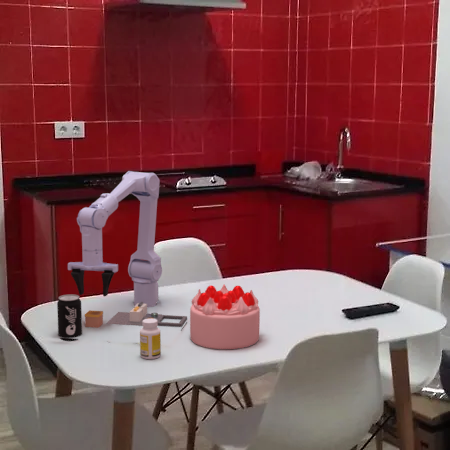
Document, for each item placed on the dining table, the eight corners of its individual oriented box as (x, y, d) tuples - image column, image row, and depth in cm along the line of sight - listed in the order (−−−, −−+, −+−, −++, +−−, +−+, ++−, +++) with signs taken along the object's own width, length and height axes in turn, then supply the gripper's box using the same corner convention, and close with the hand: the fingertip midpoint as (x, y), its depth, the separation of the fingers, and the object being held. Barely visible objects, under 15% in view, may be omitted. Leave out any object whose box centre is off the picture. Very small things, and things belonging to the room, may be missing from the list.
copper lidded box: (89, 326, 226) (89, 310, 225) (103, 327, 225) (103, 311, 224) (85, 331, 222) (84, 314, 221) (98, 331, 221) (98, 315, 220)
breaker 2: (133, 317, 231) (133, 305, 230) (143, 317, 230) (142, 306, 230) (129, 321, 227) (129, 309, 226) (139, 321, 226) (139, 310, 226)
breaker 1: (137, 312, 236) (137, 301, 235) (147, 313, 235) (147, 301, 235) (134, 316, 232) (134, 304, 231) (143, 316, 231) (143, 305, 231)
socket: (161, 321, 231) (161, 314, 231) (187, 322, 230) (187, 316, 230) (154, 329, 223) (154, 322, 223) (181, 330, 222) (181, 324, 222)
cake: (189, 350, 206) (189, 299, 204) (191, 327, 226) (191, 280, 223) (261, 350, 207) (262, 300, 204) (257, 327, 226) (257, 281, 224)
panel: (118, 315, 236) (118, 310, 236) (162, 318, 234) (162, 312, 234) (106, 327, 225) (106, 321, 224) (152, 330, 223) (152, 324, 222)
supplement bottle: (161, 352, 204) (161, 317, 202) (160, 359, 199) (159, 323, 197) (140, 352, 204) (140, 317, 202) (139, 359, 199) (139, 323, 197)
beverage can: (59, 342, 211) (57, 301, 209) (57, 335, 217) (56, 294, 215) (83, 340, 213) (82, 299, 211) (81, 333, 219) (79, 293, 217)
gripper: (63, 250, 216) (64, 297, 219) (112, 253, 214) (113, 299, 216) (72, 245, 223) (73, 290, 225) (119, 247, 221) (120, 293, 223)
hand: (93, 294), depth 221 cm, fingers open, 7 cm apart
